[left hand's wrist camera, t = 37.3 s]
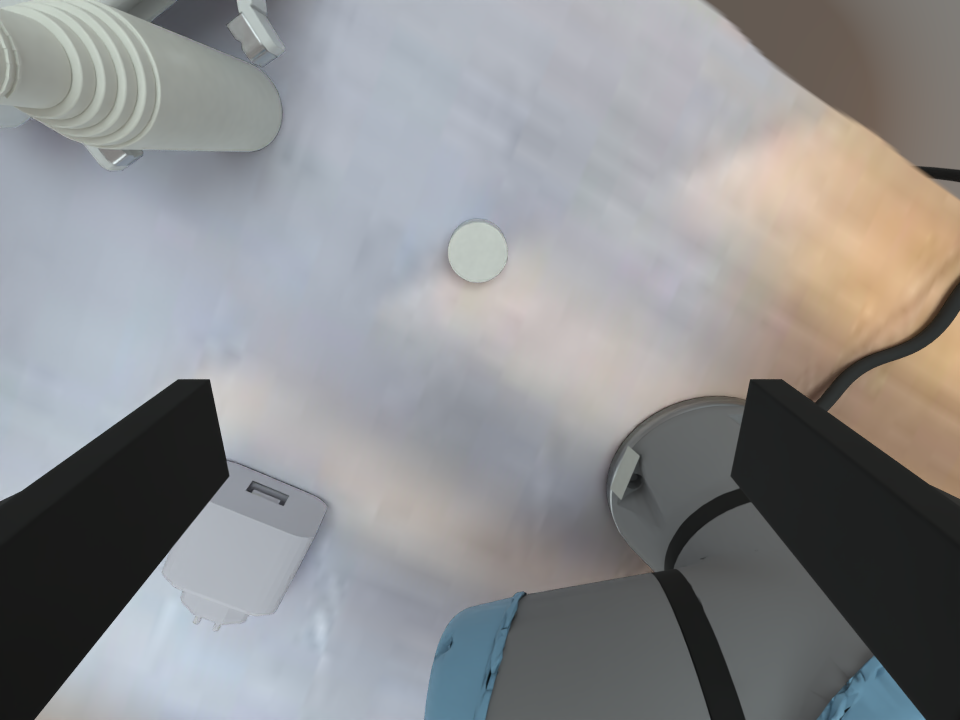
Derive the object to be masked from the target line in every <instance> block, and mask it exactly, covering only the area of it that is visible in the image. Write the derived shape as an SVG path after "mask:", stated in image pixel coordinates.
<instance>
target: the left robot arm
mask: <svg viewBox="0 0 960 720" xmlns="http://www.w3.org/2000/svg"><path fill="white" fill-rule="evenodd" d="M914 167H915V168H916V169H917V170H919V171H920V172H921V173H923V174H924V175H925V176H927V177H928V178H931V179H939V180H947V181H954V182H960V170H958V169H947V168H938V167H924V166H914ZM959 311H960V283H959V284H958V285H957V286H956V288H955V289H954V290H953V292H952V293H951V295H950V296H949V298H948V299H947V301H946V302H945V304H944V305H943V307H942V308H941V310H940V311H939V313H938V314H937V316H936V317H935V318H934V320H933V321H932V322H931V323H930V324H929V325H928V326H927V327H926V328H925V329H924V330H923V331H922V332H921V333H919V334H918V335H917V336H915V337H914V338H912V339H911V340H909V341H907V342H905V343H903V344H900V345H898V346H895V347H893V348H890V349H886V350H883V351H881V352H878V353H875V354H872V355H870V356H867V357H865V358H863V359H861V360H859V361H857V362H856V363H854V364H853V365H851V366H850V367H849V368H847V369H846V370H845V371H844V372H842V373H841V374H840V375H839V376H838V377H837V378H836V380H835V381H834V382H833V383H832V384H831V385H830V387H829V388H828V389H827V390H826V391H825V393H824V394H823V395H822V396H821V397H820V398H819V399H818V400H817V401H816V402H815V403H814V402H813V401H811V400H810V399H809V398H807V397H806V396H804V395H803V394H802V393H800V392H799V391H797V390H796V389H795V388H793V387H792V386H790V385H789V384H788V383H786V382H785V381H783V380H782V379H750V383H749V388H748V393H747V398H746V400H744V399H739V398H734V397H725V396H712V397H701V398H695V399H691V400H687V401H683V402H680V403H677V404H674V405H672V406H670V407H667V408H665V409H663V410H661V411H659V412H657V413H656V414H654V415H652V416H651V417H649V418H648V419H647V420H645V421H644V422H643V423H641V424H640V425H639V426H638V427H637V428H636V429H634V430H633V431H632V432H631V434H630V435H629V436H628V437H627V438H626V439H625V441H624V442H623V443H622V444H621V446H620V448H619V449H618V451H617V452H616V454H615V456H614V458H613V460H612V463H611V466H610V469H609V473H608V477H607V488H606V492H607V500H608V505H609V508H610V511H611V514H612V516H613V519H614V522H615V524H616V526H617V528H618V530H619V532H620V533H621V535H622V537H623V538H624V539H625V541H626V542H627V544H628V545H629V546H630V547H631V548H632V549H633V550H634V551H635V552H636V553H637V554H638V555H639V556H640V557H641V558H642V560H643V561H644V562H645V563H646V564H647V565H648V566H649V567H650V568H651V569H652V570H653V571H654V573H646V574H641V575H635V576H629V577H624V578H618V579H612V580H606V581H601V582H595V583H589V584H584V585H578V586H572V587H566V588H561V589H555V590H549V591H544V592H538V593H532V594H527V593H525V592H517V593H516V594H515V595H514V596H513V597H511V598H507V599H503V600H498V601H494V602H490V603H486V604H481V605H477V606H473V607H469V608H467V609H465V610H463V611H461V612H460V613H458V614H457V615H456V616H455V617H454V618H453V619H452V620H451V621H450V623H449V624H448V625H447V627H446V629H445V631H444V633H443V634H442V637H441V639H440V642H439V644H438V647H437V650H436V654H435V658H434V662H433V666H432V670H431V675H430V681H429V686H428V693H427V699H426V708H425V717H424V720H960V499H959V498H956V497H954V496H952V495H950V494H948V493H946V492H944V491H942V490H940V489H938V488H936V487H934V486H931V485H929V484H928V483H926V482H925V481H924V480H922V479H921V478H919V477H918V476H917V475H915V474H914V473H912V472H911V471H910V470H908V469H907V468H905V467H904V466H903V465H901V464H900V463H898V462H897V461H895V460H894V459H893V458H891V457H890V456H888V455H887V454H886V453H884V452H883V451H881V450H880V449H879V448H877V447H876V446H874V445H873V444H872V443H870V442H869V441H867V440H866V439H865V438H863V437H862V436H860V435H859V434H858V433H856V432H855V431H853V430H852V429H851V428H849V427H848V426H846V425H845V424H844V423H842V422H841V421H839V420H838V419H837V418H835V417H834V416H832V415H831V414H830V413H828V412H827V411H828V410H829V409H830V408H831V407H832V406H833V405H834V404H835V402H836V401H837V400H838V399H839V398H840V396H841V395H842V394H843V393H844V392H845V390H846V389H847V388H848V387H849V386H850V385H851V384H852V383H853V382H854V381H855V380H856V379H857V378H859V377H860V376H861V375H863V374H864V373H866V372H867V371H869V370H871V369H873V368H875V367H877V366H880V365H882V364H885V363H888V362H891V361H894V360H897V359H900V358H903V357H906V356H908V355H911V354H913V353H915V352H917V351H919V350H921V349H922V348H924V347H926V346H927V345H929V344H930V343H932V342H933V341H934V340H935V339H936V338H938V337H939V336H940V335H941V334H942V333H943V332H944V331H945V330H946V329H947V327H948V326H949V325H950V324H951V322H952V321H953V320H954V318H955V317H956V316H957V314H958V312H959ZM229 476H230V475H229V470H228V466H227V461H226V456H225V451H224V446H223V441H222V436H221V432H220V427H219V422H218V417H217V412H216V407H215V403H214V398H213V393H212V388H211V383H210V379H178V380H177V381H175V382H174V383H172V384H171V385H170V386H168V387H167V388H165V389H164V390H163V391H161V392H160V393H158V394H157V395H156V396H154V397H153V398H151V399H150V400H149V401H147V402H146V403H144V404H143V405H142V406H140V407H139V408H137V409H136V410H135V411H133V412H132V413H130V414H129V415H128V416H126V417H125V418H123V419H122V420H121V421H119V422H118V423H116V424H115V425H114V426H112V427H111V428H109V429H108V430H107V431H105V432H104V433H102V434H101V435H100V436H98V437H97V438H95V439H94V440H93V441H91V442H90V443H88V444H87V445H86V446H84V447H83V448H81V449H80V450H79V451H77V452H76V453H74V454H73V455H72V456H70V457H69V458H67V459H66V460H64V461H63V462H62V463H60V464H59V465H57V466H56V467H55V468H53V469H52V470H50V471H49V472H48V473H46V474H45V475H43V476H42V477H41V478H39V479H38V480H36V481H35V482H34V483H32V484H31V485H29V486H28V487H27V488H25V489H24V490H22V491H21V492H19V493H17V494H15V495H12V496H10V497H8V498H6V499H4V500H2V501H0V720H34V719H35V718H36V717H37V716H38V714H39V713H40V712H41V711H42V709H43V708H44V707H45V706H46V705H47V703H48V702H49V701H50V700H51V698H52V697H53V696H54V695H55V693H56V692H57V691H58V690H59V688H60V687H61V686H62V685H63V683H64V682H65V681H66V680H67V678H68V677H69V676H70V675H71V673H72V672H73V671H74V670H75V668H76V667H77V666H78V665H79V663H80V662H81V661H82V660H83V658H84V657H85V656H86V655H87V653H88V652H89V651H90V650H91V648H92V647H93V646H94V645H95V643H96V642H97V641H98V640H99V638H100V637H101V636H102V635H103V633H104V632H105V631H106V630H107V628H108V627H109V626H110V625H111V623H112V622H113V621H114V620H115V618H116V617H117V616H118V615H119V614H120V612H121V611H122V610H123V609H124V607H125V606H126V605H127V604H128V602H129V601H130V600H131V599H132V597H133V596H134V595H135V594H136V592H137V591H138V590H139V589H140V587H141V586H142V585H143V584H144V582H145V581H146V580H147V579H148V577H149V576H150V575H151V574H152V572H153V571H154V570H155V569H156V567H157V566H158V565H159V564H160V562H161V561H162V560H163V559H164V557H165V556H166V555H167V554H168V552H169V551H170V550H171V549H172V547H173V546H174V545H175V544H176V542H177V541H178V540H179V539H180V537H181V536H182V535H183V534H184V532H185V531H186V530H187V529H188V527H189V526H190V525H191V524H192V522H193V521H194V520H195V519H196V518H197V516H198V515H199V514H200V513H201V511H202V510H203V509H204V508H205V506H206V505H207V504H208V503H209V501H210V500H211V499H212V498H213V496H214V495H215V494H216V493H217V491H218V490H219V489H220V488H221V486H222V485H223V484H224V483H225V481H226V480H227V479H228V478H229Z"/></svg>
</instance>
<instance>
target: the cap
mask: <svg viewBox="0 0 960 720" xmlns="http://www.w3.org/2000/svg"><path fill="white" fill-rule="evenodd" d="M507 256H508V249H507V244H506V241H505V238H504V235H503V233H502V232H501V230H500V229H499V228H498V227H497V226H496V225H495V224H493V223H492V222H490V221H487V220H484V219H472V220H468V221H466V222H464V223H462V224H461V225H460V226H458V227H457V229H456V230H455V231H454V233H453V234H452V237H451V240H450V243H449V246H448V259H449V262H450V265H451V267H452V269H453V270H454V271H455V273H456V274H457V275H459V276H460V277H461V278H463V279H465V280H467V281H470V282H475V283H480V282H486V281H489V280H491V279H493V278H494V277H496V276H497V275H498V274H499V273H500V272H501V271H502V269H503V268H504V266H505V264H506V261H507Z"/></svg>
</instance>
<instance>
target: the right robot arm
mask: <svg viewBox="0 0 960 720" xmlns="http://www.w3.org/2000/svg"><path fill="white" fill-rule="evenodd" d="M28 1H31V0H0V8H2V7H6V6H13V5H15V4H19V3H22V2H28ZM96 1H98V2H101V3H104V4H106V5H108V6H111V7H113V8H116V9H118V10H121V11H123V12H126V13H128V14H131V15H133V16H135V17H138V18H140V19H143V20H145V21H148V22H151V21H152V20H154V19H155V18H156V17H157V16H159V15H160V14H161V13H162V12H164V11H165V10H166V9H167V8H169V7H170V6H171V5H173V4H174V3H175V2H176V1H178V0H96ZM237 6H238V11H239V15H238V16H237V17H236V18H234V19H233V20H232V21H231V22H230V23H228V24H227V25H226V26H227V27H228V29H229V30H230V32H231V33H232V35H233V36H234V38H235V39H236V40H238V41H240V42H241V44H242V50H243V52H244V53H245V55H246V56H247V57H248V58H249V60H250V61H251V62H252V63H253V64H255V65H259V66H260V67H264V66H265V65H267V64H268V63H270V62H271V61H272V60H274V59H275V58H277V57H279V56H280V55H281V54H282V53H284V52H285V51H286V49H285V47H284V45H283V43H282V41H281V40H280V38H279V37H278V35H277V33H276V32H275V30H274V29H273V27H272V25H271V24H270V22H269V21H268V19H267V17H266V15H267V7H266V0H237ZM30 118H31V117H30V116H29V115H27V114H26V113H24V112H22V111H20V110H18V109H17V108H15V107H14V106H9V105H0V128H15V127H18V126H20V125H22V124H23V123H25V122H26V121H27V120H28V119H30ZM82 144H83V143H82ZM83 145H84V146H85V147H86V149H87V150H88V151H89V152H90V154H91V155H92V156H93V157H94V158H95V160H96V161H97V162H98V163H99V165H100V166H102V167H103V168H105V169H106V170H108V171H123V170H125V169H126V168H127V167H129V166H130V165H131V164H133V163H134V162H135V161H137V160H138V159H139V158H141V157H142V156H143V151H142V150H123V149H101V148H96V147H92V146H89V145H86V144H83Z"/></svg>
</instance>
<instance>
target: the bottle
mask: <svg viewBox="0 0 960 720" xmlns="http://www.w3.org/2000/svg"><path fill="white" fill-rule="evenodd" d="M0 105H9V106H14V107H15V108H17V109H18V110H20V111H22V112H24V113H26V114H27V115H29V116H30V117H32V118H34V119H35V120H37V121H39V122H41V123H42V124H44V125H46V126H47V127H49V128H51V129H53V130H54V131H56V132H58V133H59V134H61V135H62V136H64V137H66V138H69V139H71V140H73V141H76V142H79V143H83V144H86V145H89V146H92V147H96V148H101V149H123V150H175V151H227V152H253V151H257V150H260V149H262V148H264V147H266V146H267V145H268V144H270V143H271V142H272V141H273V140H274V138H275V137H276V135H277V133H278V131H279V129H280V126H281V121H282V105H281V100H280V97H279V94H278V92H277V90H276V88H275V86H274V84H273V83H272V81H271V80H270V79H269V77H268V76H267V75H266V74H265V73H264V72H263V71H261V70H260V69H259V68H257V67H256V66H254V65H252V64H250V63H248V62H246V61H243V60H241V59H238V58H236V57H234V56H231V55H229V54H226V53H224V52H221V51H219V50H216V49H214V48H211V47H209V46H207V45H204V44H202V43H199V42H197V41H194V40H192V39H189V38H187V37H184V36H182V35H180V34H177V33H175V32H172V31H170V30H167V29H165V28H162V27H160V26H157V25H155V24H153V23H150V22H148V21H145V20H143V19H140V18H138V17H135V16H133V15H131V14H128V13H126V12H123V11H121V10H118V9H116V8H113V7H111V6H108V5H106V4H104V3H101V2H98V1H96V0H31V1H28V2H22V3H19V4H15V5H13V6H6V7H2V8H0Z"/></svg>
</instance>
